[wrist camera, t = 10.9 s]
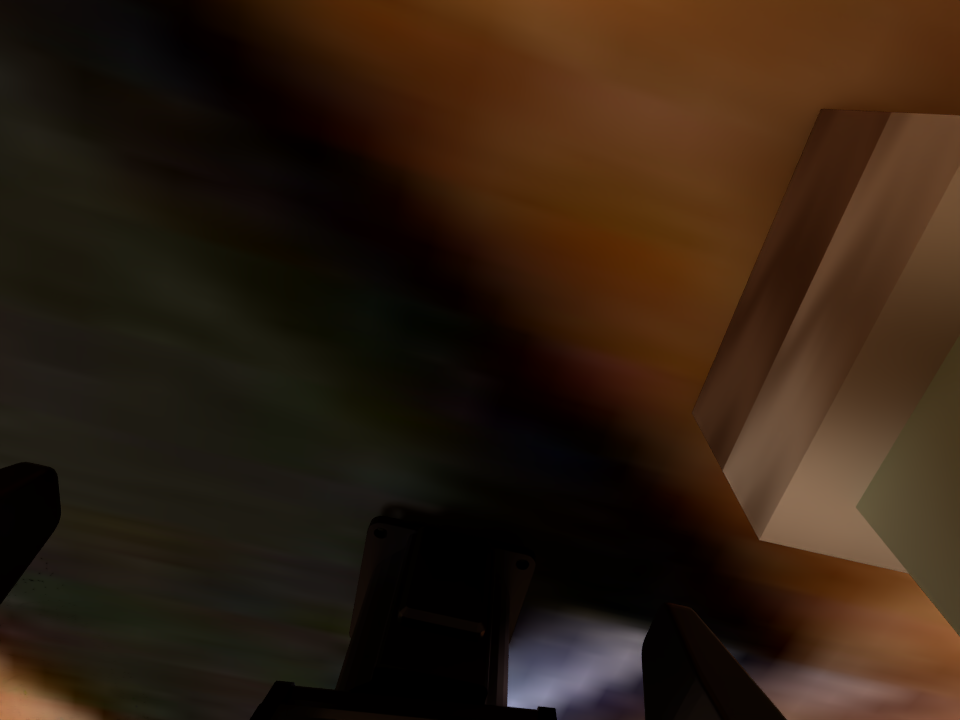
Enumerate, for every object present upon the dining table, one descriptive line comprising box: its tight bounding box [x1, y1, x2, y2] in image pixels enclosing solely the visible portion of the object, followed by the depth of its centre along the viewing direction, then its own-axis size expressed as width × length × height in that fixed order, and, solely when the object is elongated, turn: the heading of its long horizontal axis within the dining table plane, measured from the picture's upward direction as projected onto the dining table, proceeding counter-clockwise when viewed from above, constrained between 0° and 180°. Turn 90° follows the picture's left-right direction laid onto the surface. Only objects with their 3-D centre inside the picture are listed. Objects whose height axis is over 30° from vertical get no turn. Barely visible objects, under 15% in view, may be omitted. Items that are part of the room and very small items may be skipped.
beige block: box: [692, 109, 960, 573], centre depth 16 cm, size 10×8×6 cm
